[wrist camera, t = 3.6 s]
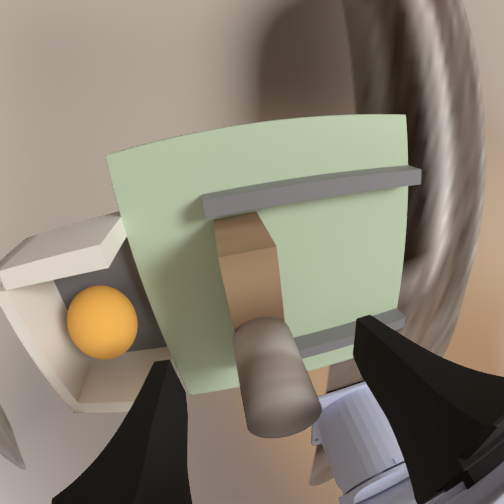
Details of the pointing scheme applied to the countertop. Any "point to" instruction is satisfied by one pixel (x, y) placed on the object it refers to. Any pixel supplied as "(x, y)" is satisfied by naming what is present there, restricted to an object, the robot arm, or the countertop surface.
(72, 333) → the ball
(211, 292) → the pitch
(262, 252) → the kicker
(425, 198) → the countertop surface
